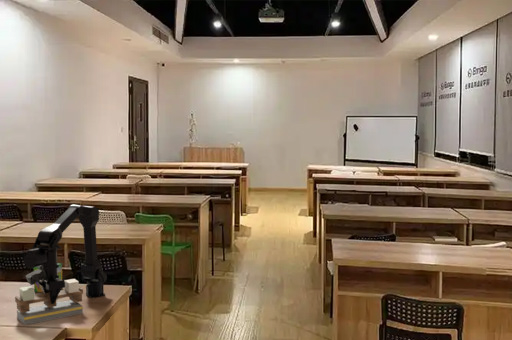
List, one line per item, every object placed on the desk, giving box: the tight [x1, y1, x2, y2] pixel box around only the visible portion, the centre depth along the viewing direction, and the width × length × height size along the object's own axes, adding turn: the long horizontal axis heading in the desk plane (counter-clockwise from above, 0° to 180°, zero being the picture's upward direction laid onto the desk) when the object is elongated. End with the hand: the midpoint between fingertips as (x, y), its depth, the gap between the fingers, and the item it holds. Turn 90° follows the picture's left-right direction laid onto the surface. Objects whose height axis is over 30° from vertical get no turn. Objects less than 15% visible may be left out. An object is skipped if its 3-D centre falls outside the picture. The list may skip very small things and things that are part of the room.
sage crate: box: [19, 285, 35, 301], centre depth 209 cm, size 4×5×4 cm
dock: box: [16, 299, 84, 326], centre depth 215 cm, size 22×10×3 cm, turn 128°
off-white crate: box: [63, 278, 80, 293], centre depth 219 cm, size 4×5×4 cm
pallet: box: [14, 286, 84, 313], centre depth 214 cm, size 24×6×5 cm, turn 128°
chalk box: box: [33, 262, 63, 293], centre depth 248 cm, size 9×9×15 cm
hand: (50, 301), depth 214 cm, fingers closed on pallet, 6 cm apart
